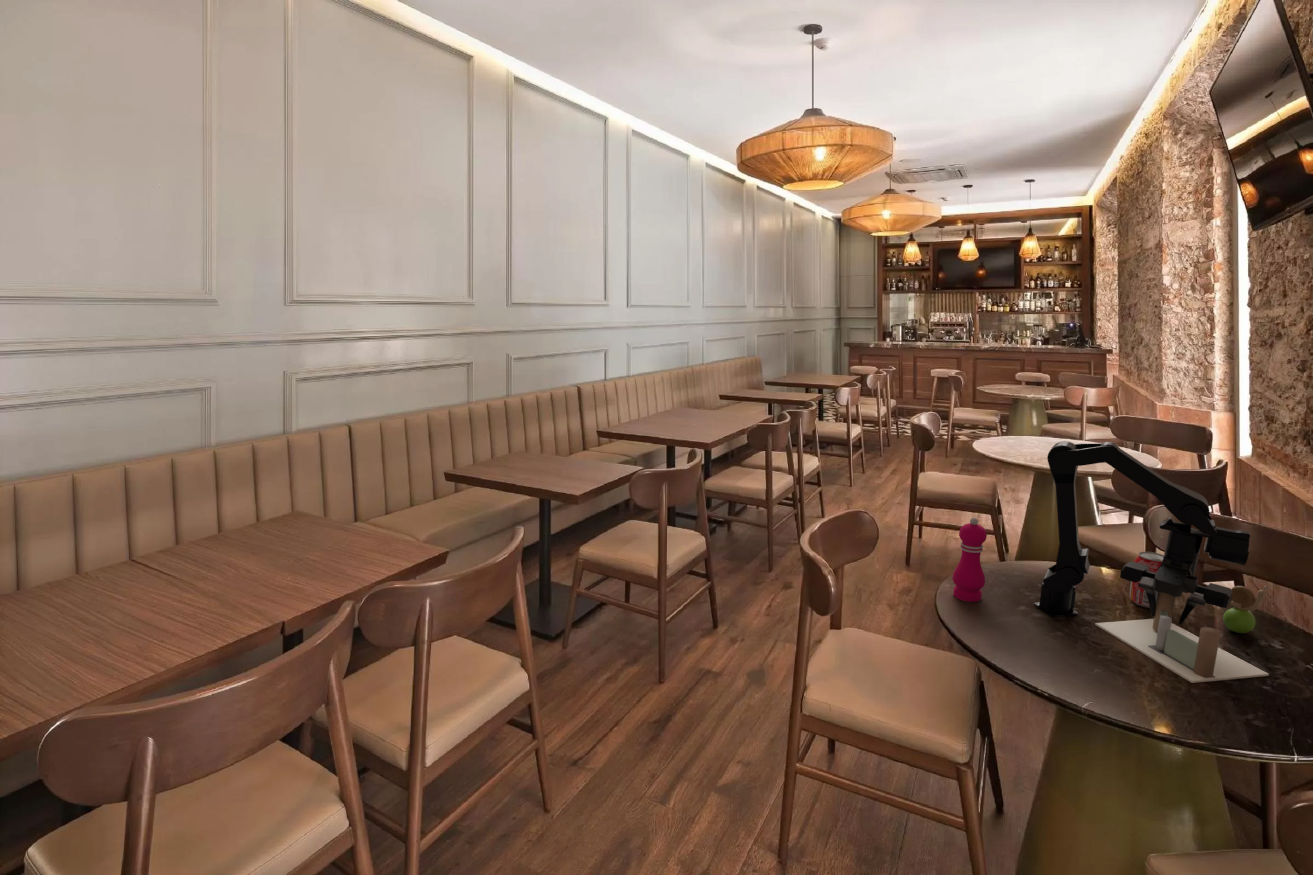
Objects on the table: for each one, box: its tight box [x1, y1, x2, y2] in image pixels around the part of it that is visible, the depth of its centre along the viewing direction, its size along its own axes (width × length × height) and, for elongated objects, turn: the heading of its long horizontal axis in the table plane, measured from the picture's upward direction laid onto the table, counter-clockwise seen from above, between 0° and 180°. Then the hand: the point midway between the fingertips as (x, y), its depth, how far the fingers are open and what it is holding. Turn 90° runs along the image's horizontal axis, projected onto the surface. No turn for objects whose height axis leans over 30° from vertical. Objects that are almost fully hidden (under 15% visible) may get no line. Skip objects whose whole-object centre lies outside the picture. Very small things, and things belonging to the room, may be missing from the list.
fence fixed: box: [1155, 616, 1221, 677], centre depth 138 cm, size 12×3×9 cm, turn 9°
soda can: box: [1129, 551, 1164, 609], centre depth 165 cm, size 7×7×12 cm
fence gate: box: [1153, 592, 1176, 632], centre depth 148 cm, size 10×3×9 cm, turn 145°
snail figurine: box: [1222, 585, 1269, 634], centre depth 151 cm, size 5×6×12 cm
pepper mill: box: [952, 517, 988, 603], centre depth 168 cm, size 7×7×20 cm
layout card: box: [1094, 618, 1269, 684], centre depth 145 cm, size 17×24×1 cm
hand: (1166, 620), depth 150 cm, fingers open, 4 cm apart
